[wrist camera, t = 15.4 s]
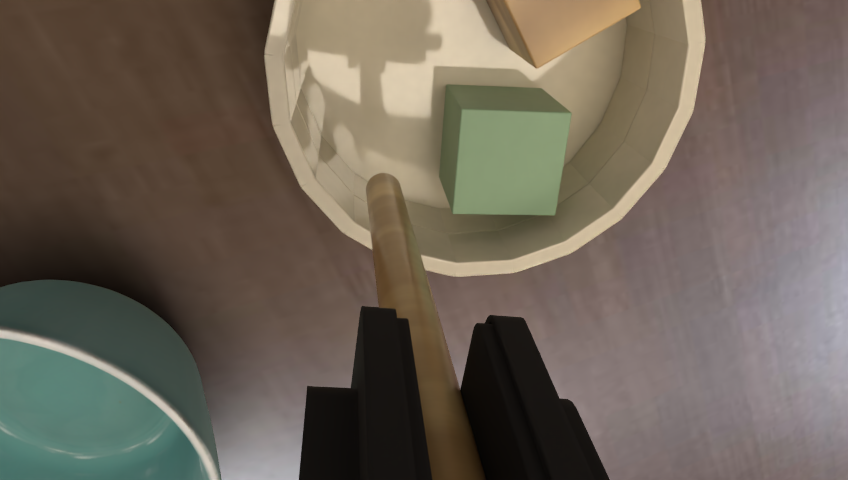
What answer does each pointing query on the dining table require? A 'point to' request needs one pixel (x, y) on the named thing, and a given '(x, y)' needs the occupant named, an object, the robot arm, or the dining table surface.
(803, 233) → the dining table surface
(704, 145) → the dining table surface
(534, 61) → the maple block
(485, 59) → the stir bowl
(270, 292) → the dining table surface
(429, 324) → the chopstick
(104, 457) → the bowl
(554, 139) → the sage block
